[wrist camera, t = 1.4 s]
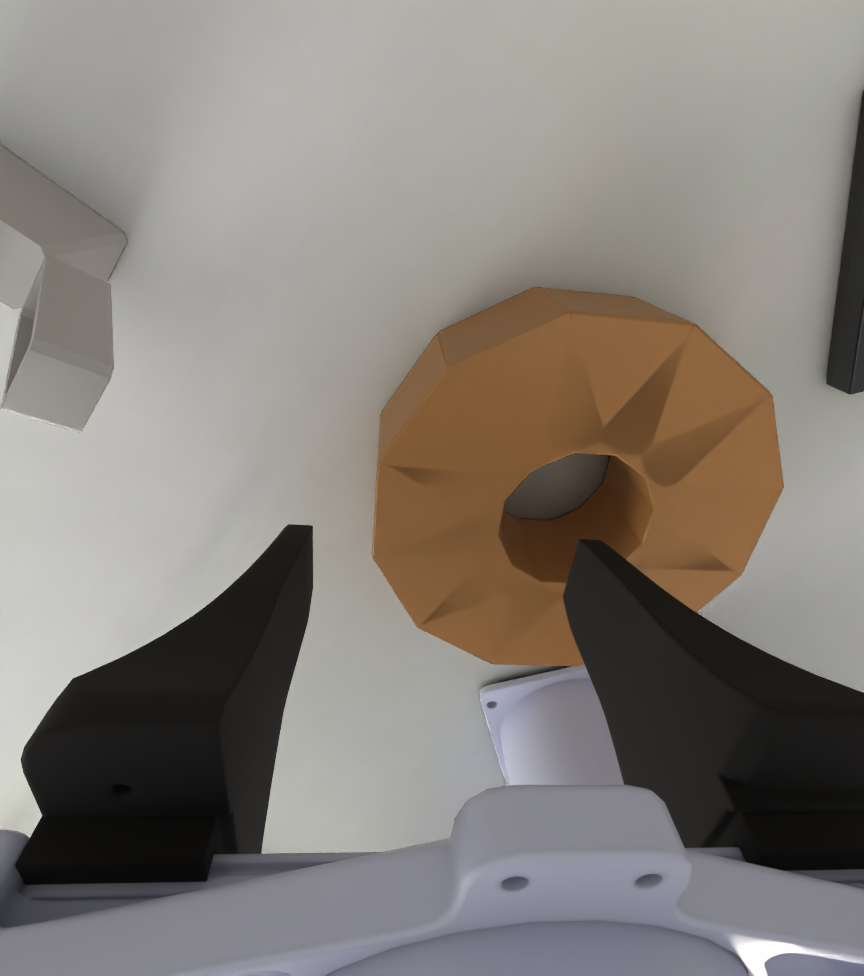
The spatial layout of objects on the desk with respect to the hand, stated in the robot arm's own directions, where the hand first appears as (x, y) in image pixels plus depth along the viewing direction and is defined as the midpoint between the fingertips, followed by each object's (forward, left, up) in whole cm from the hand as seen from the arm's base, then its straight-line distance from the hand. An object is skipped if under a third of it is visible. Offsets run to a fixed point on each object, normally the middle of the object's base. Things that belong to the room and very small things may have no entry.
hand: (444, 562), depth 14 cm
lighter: (+9, +8, -7) cm, 14 cm away
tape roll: (-2, -4, -6) cm, 8 cm away
